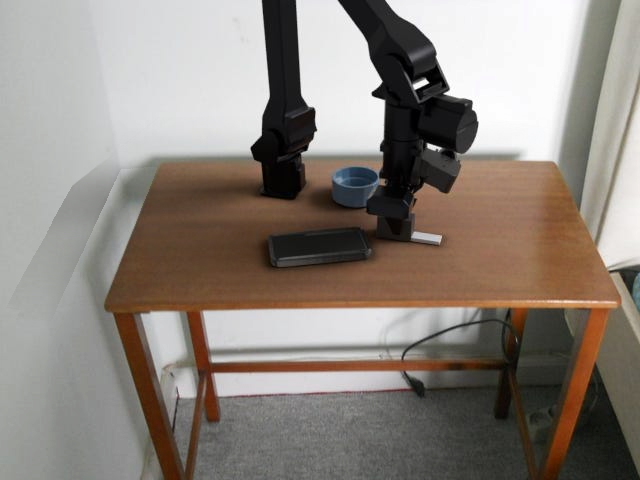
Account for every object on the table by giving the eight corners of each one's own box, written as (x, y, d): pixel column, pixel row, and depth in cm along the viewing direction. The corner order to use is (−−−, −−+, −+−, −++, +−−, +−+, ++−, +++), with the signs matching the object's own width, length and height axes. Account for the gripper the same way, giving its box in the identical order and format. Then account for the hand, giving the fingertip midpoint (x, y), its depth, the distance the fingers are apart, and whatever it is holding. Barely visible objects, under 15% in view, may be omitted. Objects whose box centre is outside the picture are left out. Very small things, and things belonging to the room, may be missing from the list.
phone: (372, 252, 100) (271, 261, 98) (372, 258, 101) (272, 267, 99) (362, 225, 106) (267, 233, 104) (362, 231, 107) (267, 239, 104)
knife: (376, 236, 106) (377, 216, 103) (380, 228, 108) (381, 208, 105) (438, 246, 104) (440, 225, 102) (441, 237, 106) (443, 217, 104)
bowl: (326, 205, 113) (325, 184, 110) (340, 184, 119) (339, 163, 116) (372, 212, 112) (373, 190, 109) (384, 190, 118) (385, 169, 115)
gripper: (448, 169, 87) (438, 270, 97) (469, 115, 101) (458, 209, 111) (365, 158, 89) (364, 258, 99) (397, 107, 103) (393, 200, 113)
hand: (398, 230), depth 106 cm, fingers closed on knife, 2 cm apart
